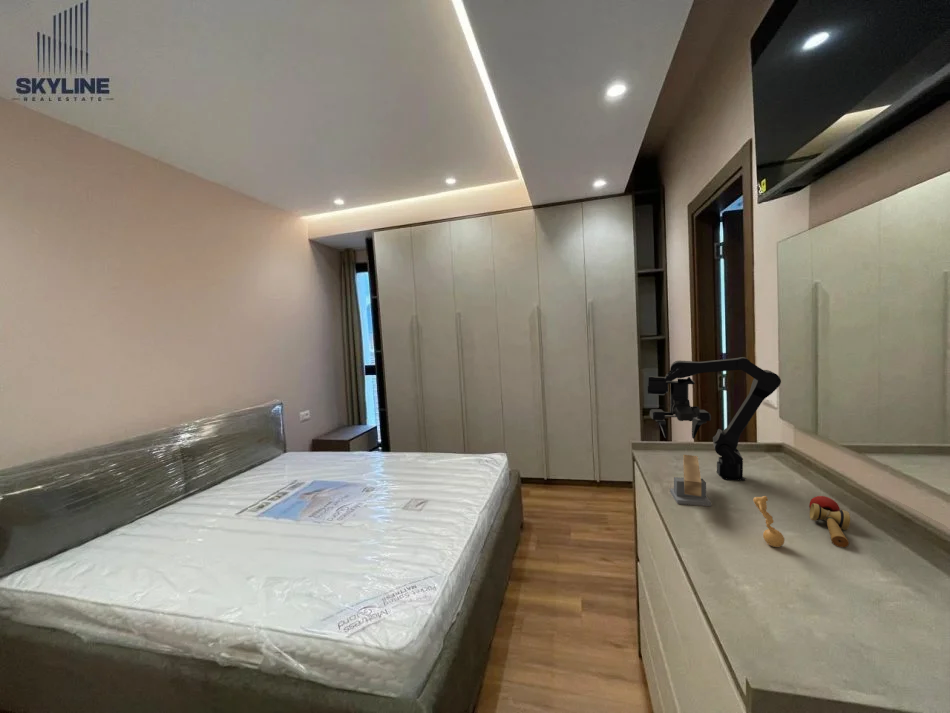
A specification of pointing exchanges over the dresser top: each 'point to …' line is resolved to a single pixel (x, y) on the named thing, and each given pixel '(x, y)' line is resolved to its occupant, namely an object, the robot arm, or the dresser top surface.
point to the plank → (691, 475)
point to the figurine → (770, 534)
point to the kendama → (831, 518)
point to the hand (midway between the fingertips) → (679, 438)
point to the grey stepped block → (684, 498)
